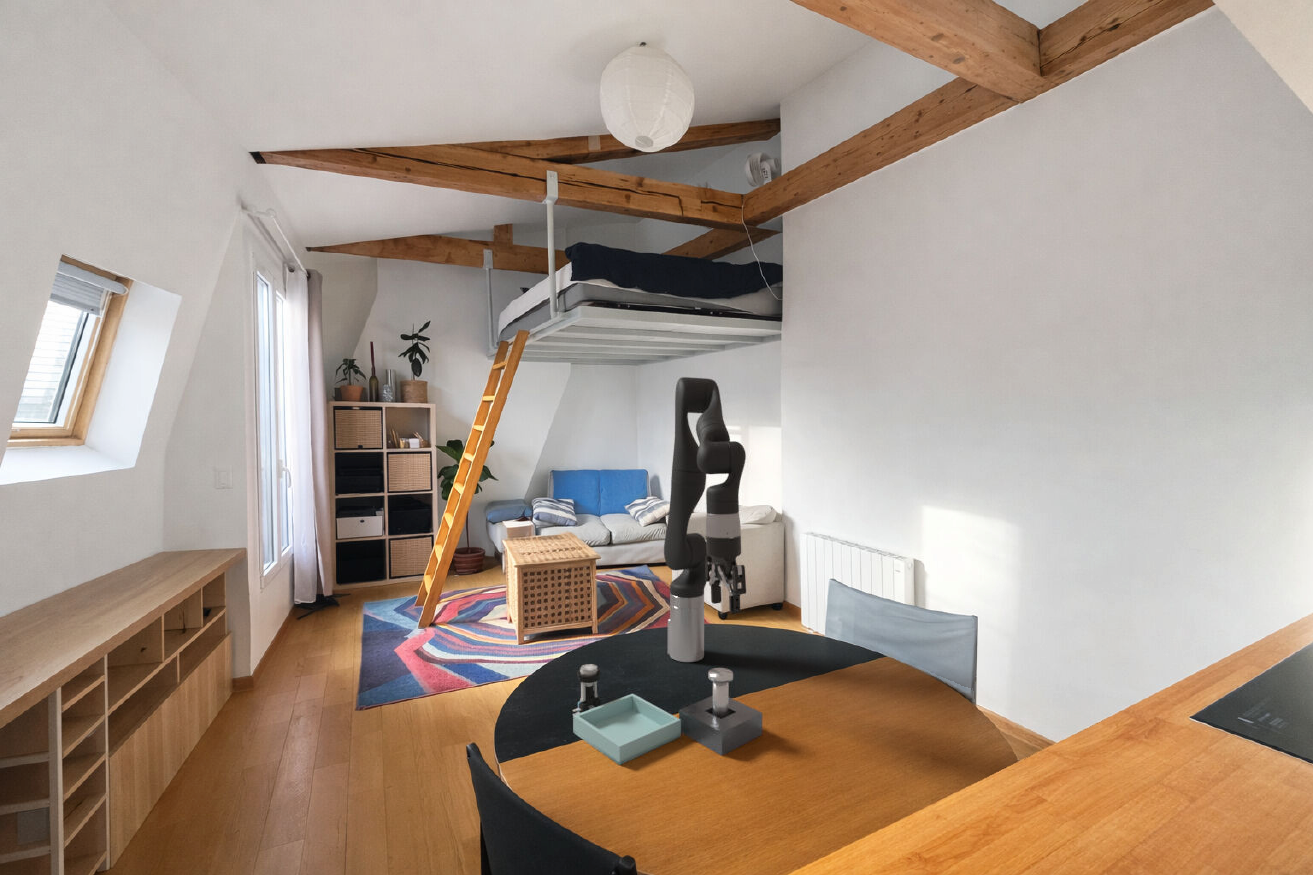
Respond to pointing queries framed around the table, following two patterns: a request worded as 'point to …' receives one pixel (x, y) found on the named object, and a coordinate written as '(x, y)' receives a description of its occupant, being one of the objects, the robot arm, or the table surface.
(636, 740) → the tray
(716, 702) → the steel pin
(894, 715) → the table surface
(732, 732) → the hitch block
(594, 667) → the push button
